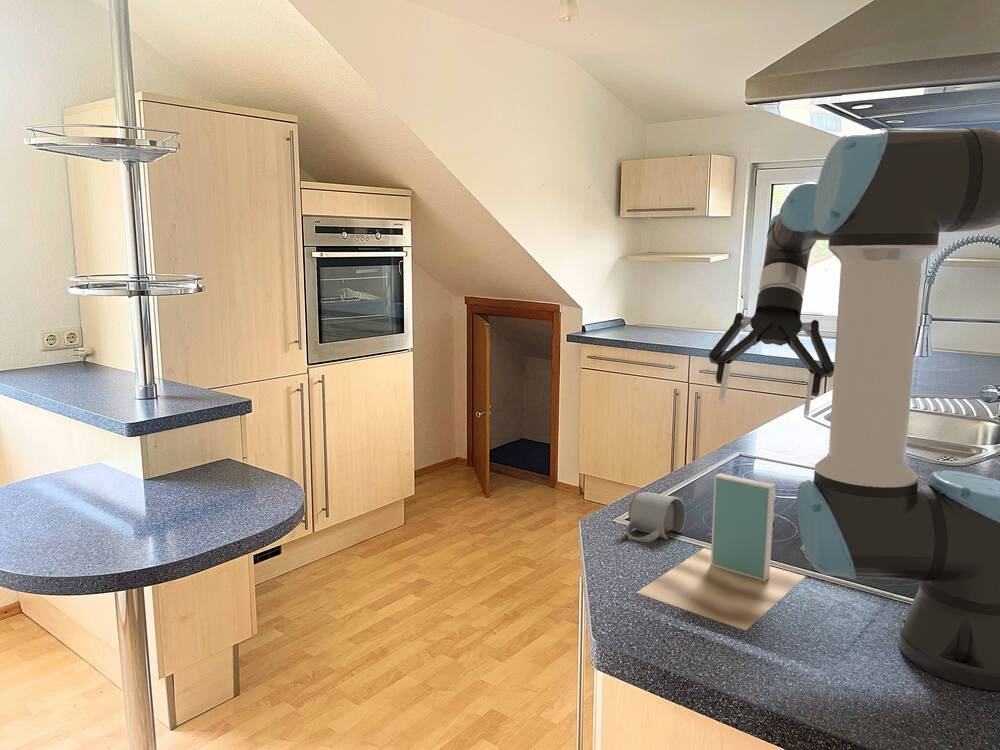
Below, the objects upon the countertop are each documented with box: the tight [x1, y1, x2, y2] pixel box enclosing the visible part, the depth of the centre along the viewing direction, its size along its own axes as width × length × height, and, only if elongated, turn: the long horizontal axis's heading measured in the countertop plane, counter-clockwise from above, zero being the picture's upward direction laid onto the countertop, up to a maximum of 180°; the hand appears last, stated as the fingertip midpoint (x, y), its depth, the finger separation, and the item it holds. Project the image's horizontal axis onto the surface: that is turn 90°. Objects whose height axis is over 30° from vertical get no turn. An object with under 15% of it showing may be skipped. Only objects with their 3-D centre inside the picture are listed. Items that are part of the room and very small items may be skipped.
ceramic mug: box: [625, 491, 687, 543], centre depth 135 cm, size 11×8×8 cm
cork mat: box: [636, 547, 806, 631], centre depth 115 cm, size 22×17×1 cm
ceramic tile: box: [710, 472, 776, 581], centre depth 118 cm, size 2×9×15 cm, turn 48°
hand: (763, 407), depth 127 cm, fingers open, 13 cm apart
